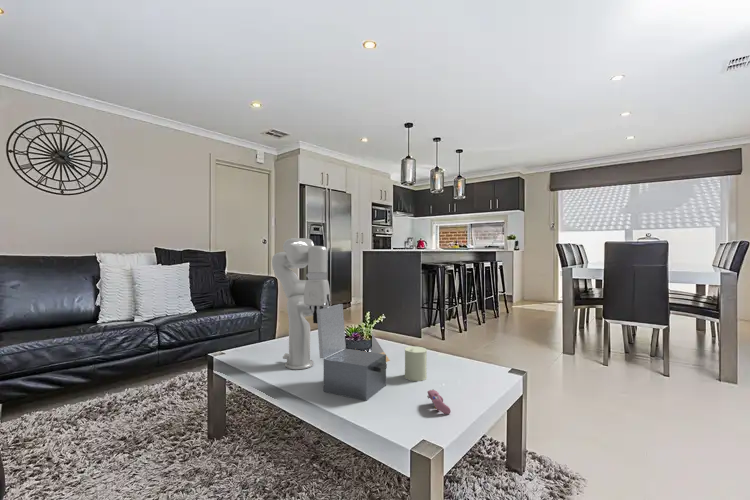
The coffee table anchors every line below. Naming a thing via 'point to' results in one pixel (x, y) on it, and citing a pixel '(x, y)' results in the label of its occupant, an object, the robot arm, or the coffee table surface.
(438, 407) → the pink toy animal
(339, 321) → the lid
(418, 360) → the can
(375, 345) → the sandwich container
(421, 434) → the coffee table surface
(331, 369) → the grey storage box
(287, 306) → the robot arm
